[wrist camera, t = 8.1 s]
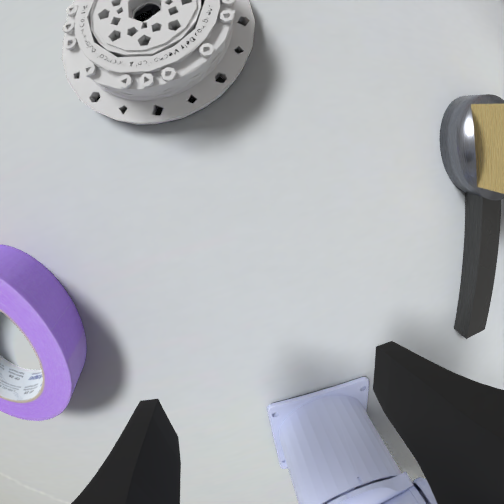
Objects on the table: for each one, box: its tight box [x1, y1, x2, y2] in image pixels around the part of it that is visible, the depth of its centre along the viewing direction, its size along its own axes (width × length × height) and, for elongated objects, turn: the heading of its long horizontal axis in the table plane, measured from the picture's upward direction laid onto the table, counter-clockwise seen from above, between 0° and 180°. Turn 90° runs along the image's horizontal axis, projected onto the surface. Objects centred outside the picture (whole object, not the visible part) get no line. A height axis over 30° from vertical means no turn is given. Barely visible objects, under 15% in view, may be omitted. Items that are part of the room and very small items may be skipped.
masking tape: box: [0, 245, 87, 421], centre depth 15 cm, size 12×12×4 cm
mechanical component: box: [62, 0, 255, 125], centre depth 11 cm, size 10×4×10 cm
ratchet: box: [440, 95, 504, 339], centre depth 17 cm, size 19×7×6 cm, turn 10°
